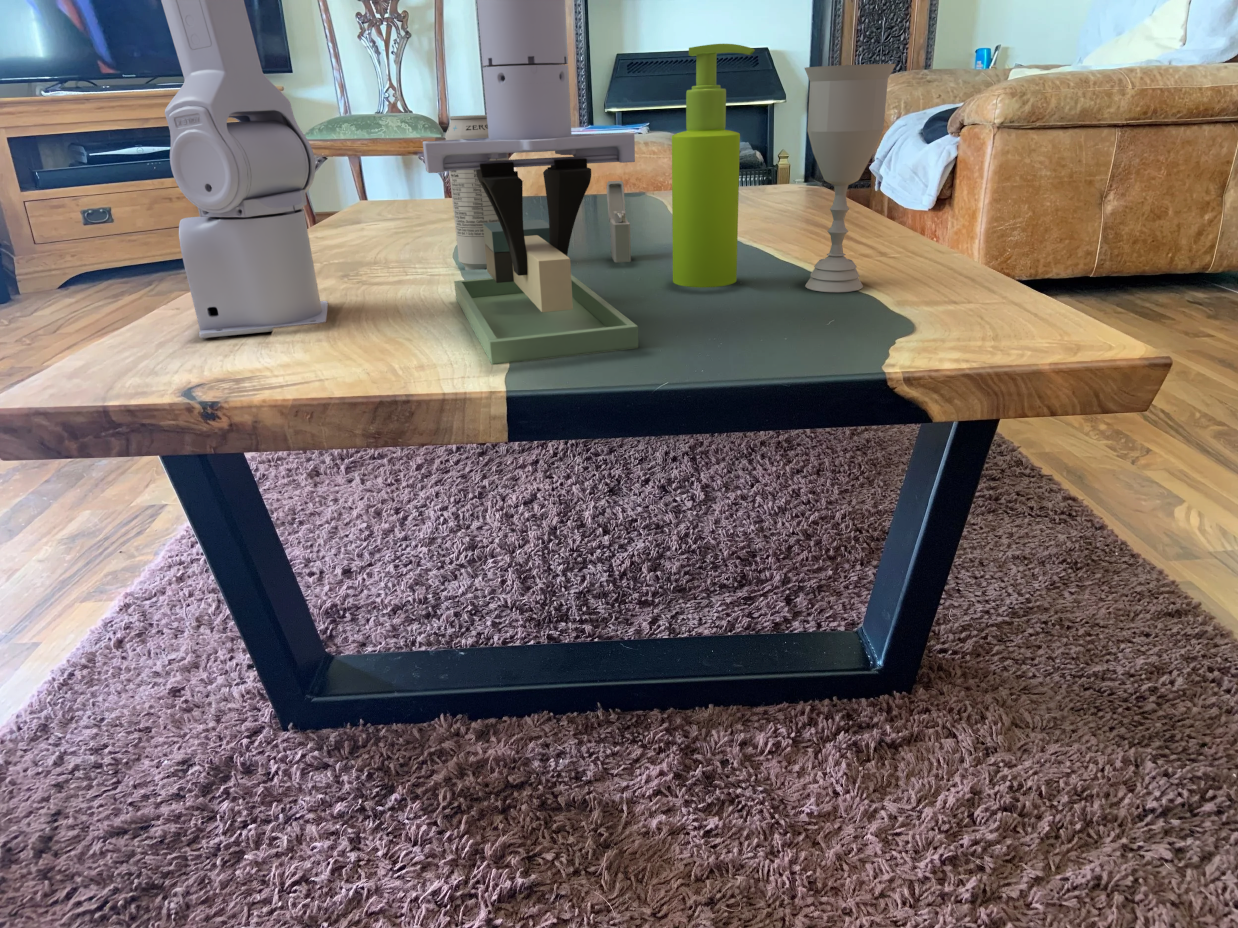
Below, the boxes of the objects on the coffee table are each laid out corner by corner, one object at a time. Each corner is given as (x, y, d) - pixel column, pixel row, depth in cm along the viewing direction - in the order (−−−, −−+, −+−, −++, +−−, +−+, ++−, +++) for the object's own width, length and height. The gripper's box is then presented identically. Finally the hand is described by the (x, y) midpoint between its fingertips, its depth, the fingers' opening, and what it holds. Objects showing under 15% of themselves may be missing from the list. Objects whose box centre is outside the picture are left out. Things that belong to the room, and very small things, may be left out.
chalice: (868, 278, 78) (887, 65, 71) (882, 294, 72) (904, 63, 64) (789, 278, 79) (800, 68, 71) (796, 295, 73) (808, 66, 65)
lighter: (631, 266, 87) (629, 186, 84) (614, 267, 87) (612, 186, 84) (624, 254, 94) (621, 179, 90) (608, 255, 93) (606, 180, 90)
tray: (639, 354, 58) (638, 326, 57) (492, 371, 55) (489, 342, 54) (568, 292, 76) (567, 270, 75) (456, 303, 74) (454, 281, 73)
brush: (592, 307, 58) (590, 249, 56) (521, 314, 56) (516, 255, 55) (545, 267, 72) (542, 219, 70) (487, 272, 70) (482, 223, 69)
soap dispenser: (745, 292, 74) (752, 41, 66) (668, 292, 75) (666, 45, 67) (749, 279, 79) (756, 44, 71) (677, 278, 80) (676, 48, 72)
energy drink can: (526, 263, 90) (514, 114, 84) (500, 274, 85) (486, 116, 79) (477, 262, 92) (462, 115, 86) (449, 272, 87) (431, 117, 81)
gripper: (419, 67, 50) (445, 291, 56) (647, 62, 54) (650, 272, 59) (411, 70, 56) (435, 272, 62) (616, 66, 60) (621, 256, 66)
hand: (539, 271), depth 61 cm, fingers closed on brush, 2 cm apart
